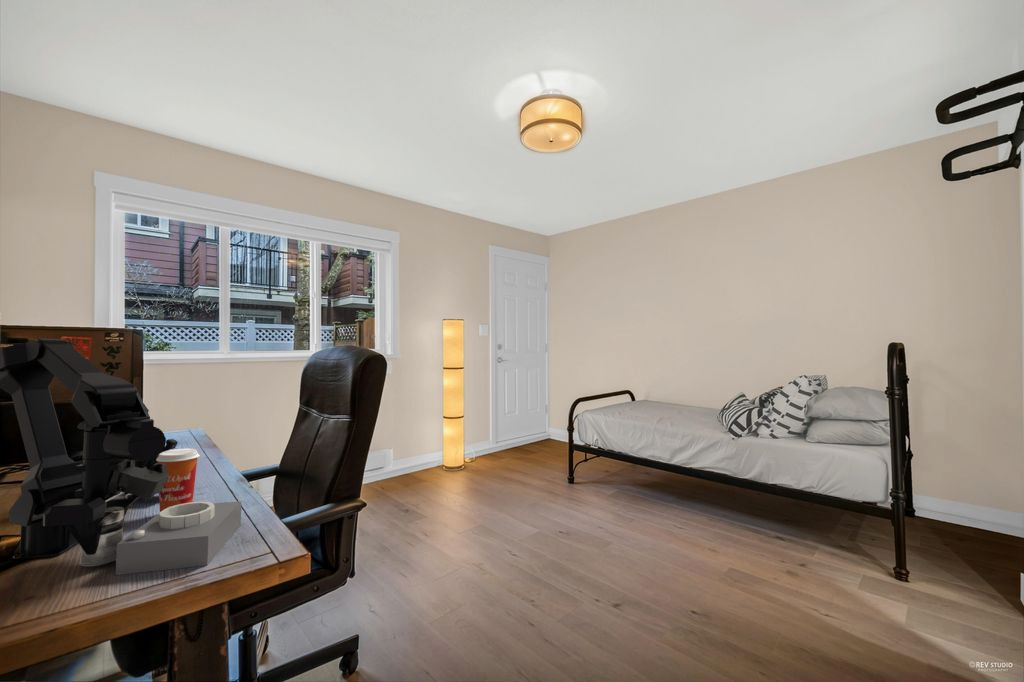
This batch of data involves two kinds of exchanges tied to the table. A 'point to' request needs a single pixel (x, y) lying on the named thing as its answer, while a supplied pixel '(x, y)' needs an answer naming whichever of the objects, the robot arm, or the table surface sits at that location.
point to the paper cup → (178, 477)
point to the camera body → (179, 537)
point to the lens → (107, 539)
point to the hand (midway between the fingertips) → (101, 547)
